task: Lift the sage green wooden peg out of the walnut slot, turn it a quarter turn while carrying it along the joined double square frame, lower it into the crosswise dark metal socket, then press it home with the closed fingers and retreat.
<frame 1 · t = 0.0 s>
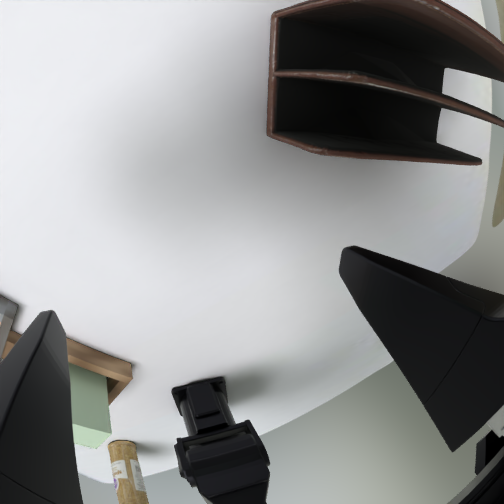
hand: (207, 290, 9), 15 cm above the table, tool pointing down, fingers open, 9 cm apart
sprinkles bottle: (121, 444, 36), on the table
joined double square frame: (23, 346, 23), on the table
sage peg: (73, 368, 26), resting in joined double square frame
letter holder: (367, 86, 23), on the table
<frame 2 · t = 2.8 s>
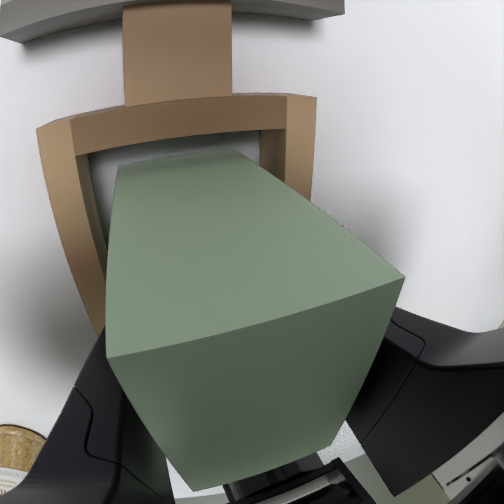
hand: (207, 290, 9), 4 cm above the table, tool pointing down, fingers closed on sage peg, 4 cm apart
sprinkles bottle: (22, 436, 14), on the table
joined double square frame: (172, 68, 8), on the table
sage peg: (184, 233, 11), resting in joined double square frame, touching gripper
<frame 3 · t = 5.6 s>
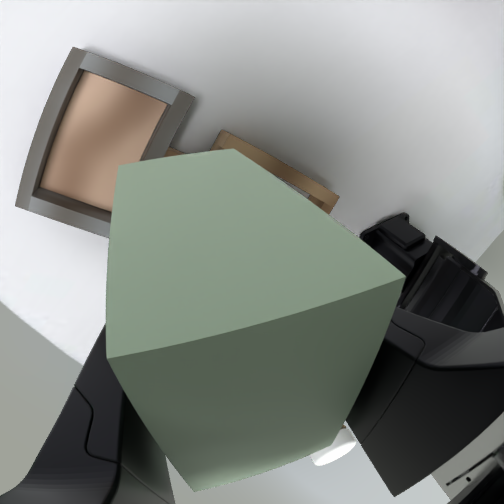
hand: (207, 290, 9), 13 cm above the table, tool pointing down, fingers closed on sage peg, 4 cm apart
sprinkles bottle: (280, 359, 34), on the table
joined double square frame: (180, 175, 20), on the table
sage peg: (184, 233, 11), point 10 cm above the table, touching gripper
when the fingers open (5 cm above the table, at t = 8.7 s): sage peg stays where it is, resting on joined double square frame.
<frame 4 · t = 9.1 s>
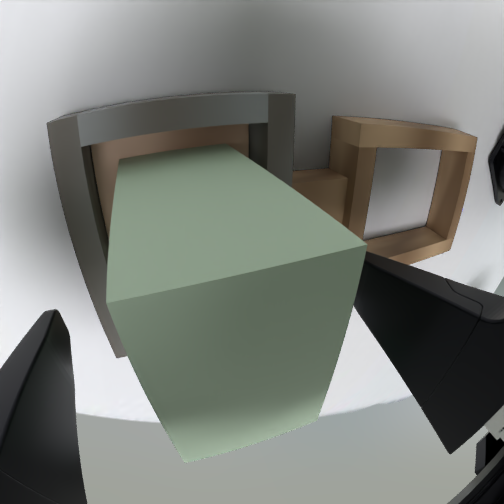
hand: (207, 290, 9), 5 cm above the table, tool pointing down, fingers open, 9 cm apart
joined double square frame: (308, 200, 14), on the table
sage peg: (180, 223, 12), resting on joined double square frame
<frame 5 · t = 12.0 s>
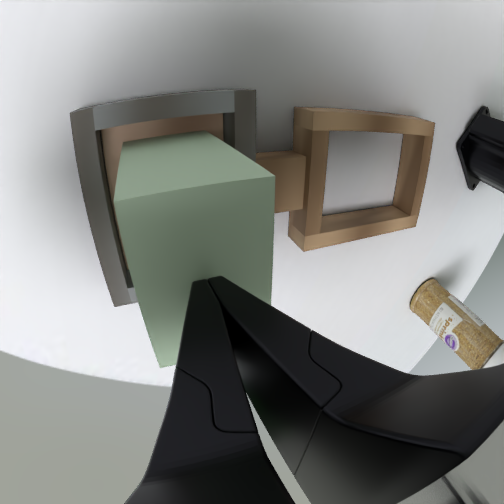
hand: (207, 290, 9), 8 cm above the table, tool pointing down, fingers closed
sprinkles bottle: (421, 293, 31), on the table
joined double square frame: (275, 176, 17), on the table
sage peg: (169, 193, 15), resting on joined double square frame
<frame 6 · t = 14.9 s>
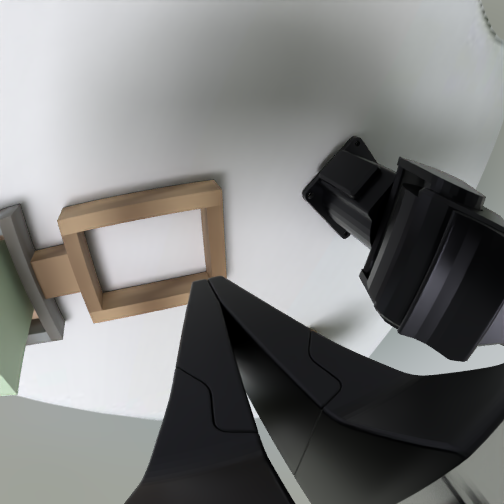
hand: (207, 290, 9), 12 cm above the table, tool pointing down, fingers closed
joined double square frame: (66, 263, 18), on the table
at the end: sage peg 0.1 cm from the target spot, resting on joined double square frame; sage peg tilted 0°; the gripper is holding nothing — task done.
